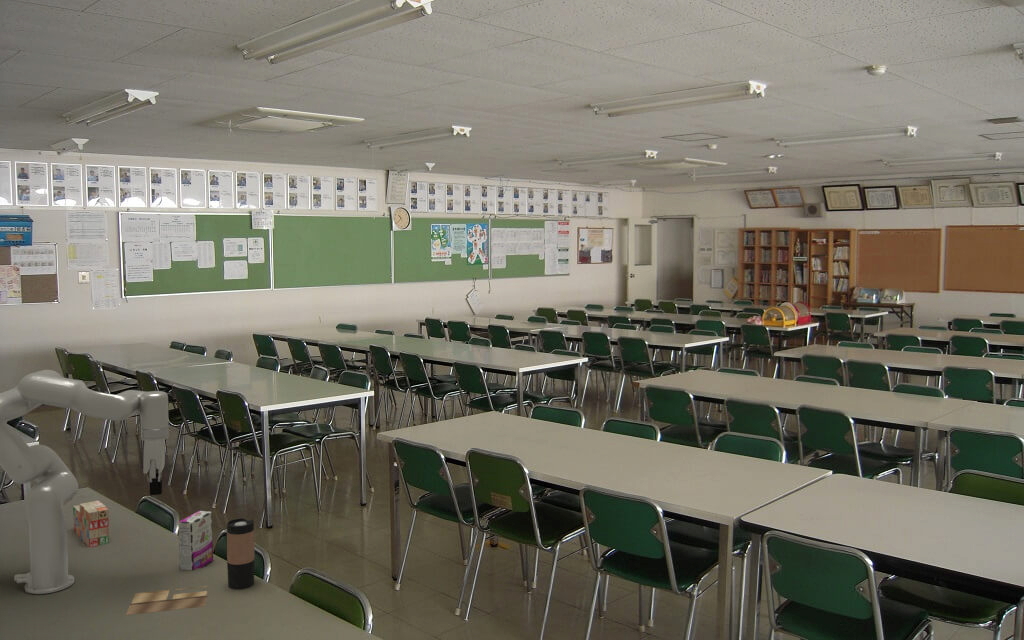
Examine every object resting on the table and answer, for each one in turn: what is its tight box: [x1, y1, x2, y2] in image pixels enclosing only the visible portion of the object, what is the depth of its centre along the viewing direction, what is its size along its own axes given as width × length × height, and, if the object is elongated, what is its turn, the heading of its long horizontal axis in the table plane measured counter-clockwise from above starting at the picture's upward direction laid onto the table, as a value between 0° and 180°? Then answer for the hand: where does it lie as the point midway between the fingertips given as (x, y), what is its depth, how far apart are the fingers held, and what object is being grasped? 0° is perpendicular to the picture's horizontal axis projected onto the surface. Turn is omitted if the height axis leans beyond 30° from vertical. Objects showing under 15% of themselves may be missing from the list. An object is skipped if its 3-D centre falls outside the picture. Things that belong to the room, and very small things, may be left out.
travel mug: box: [226, 517, 256, 590], centre depth 231 cm, size 8×8×20 cm
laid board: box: [125, 595, 208, 616], centre depth 217 cm, size 20×7×1 cm, turn 107°
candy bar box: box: [177, 510, 214, 571], centre depth 246 cm, size 11×5×16 cm, turn 168°
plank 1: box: [130, 589, 170, 604], centre depth 222 cm, size 9×7×1 cm
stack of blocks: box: [72, 500, 110, 548], centre depth 272 cm, size 21×6×12 cm, turn 42°
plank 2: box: [172, 585, 209, 599], centre depth 225 cm, size 9×7×1 cm
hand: (156, 494), depth 233 cm, fingers closed
